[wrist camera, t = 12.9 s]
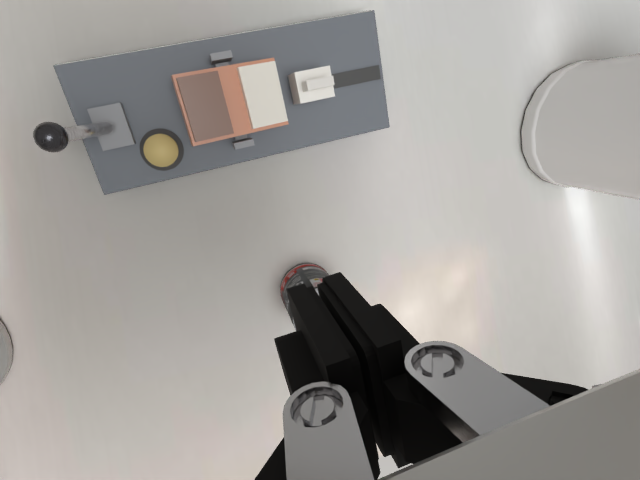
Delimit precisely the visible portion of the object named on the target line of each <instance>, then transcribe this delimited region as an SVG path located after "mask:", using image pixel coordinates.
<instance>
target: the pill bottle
mask: <svg viewBox="0 0 640 480" xmlns="http://www.w3.org/2000/svg"><path fill="white" fill-rule="evenodd" d="M326 276H329V274H328V273H327V272H326V271H325V270H324V269H323V268H322V267H320V266H318V265H315V264H302V265H299V266H296V267H294V268H293V269H291V270H290V271H289V272H288V273H287V274H286V276H285V277H284V279H283V281H282V284H281V297H282V300H283V302H284V305H285V307H286V309H287V311H288V314H289V316H290V318H291V321H292V323H293V325H294V328H295V329H296V327H295V323H294V319H293V316H292V312H291V308H290V304H289V300H288V296H287V291H286V289H287V288H290V287H294V286H297V285H300V284H303V283H304V284H305V285H306V287H310V286H313V287H314V289H315V290H316V292H317V293H318V288H317V284H320V283H322V278H323V277H326ZM318 295H319V293H318Z"/></svg>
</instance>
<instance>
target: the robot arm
mask: <svg viewBox="0 0 640 480" xmlns="http://www.w3.org/2000/svg"><path fill="white" fill-rule="evenodd" d="M317 288H318V293H319V295H318V293H317V292H316V290H315V289H314V287H313V286H310V287H306V285H305V284H304V283H303V284H300V285H297V286H294V287H290V288H287V289H286V291H287V296H288V300H289V304H290V308H291V312H292V316H293V319H294V323H295V327H296V332H293V333H290V334H287V335H284V336H281V337H278V338H275V339H274V340H275V344H276V347H277V351H278V354H279V358H280V362H281V365H282V369H283V372H284V376H285V379H286V382H287V385H288V389H289V392H290V395H291V396H290V397H289V398H288V400H287V402H286V403H285V405H284V410H283V426H284V438H283V439H282V441H281V442H280V444H279V445H278V447H277V448H276V449H275V451H274V452H273V454H272V455H271V457H270V458H269V459H268V461H267V462H266V464H265V465H264V467H263V468H262V470H261V471H260V472H259V474H258V475H257V477H256V478H255V480H377V479H378V477H379V474H380V469H379V464H378V459H379V458H378V452H377V447H376V444H377V445H378V447H379V449H380V451H381V453H382V454H383V456H384V457H386V456H388V455H391V456H392V458H393V459H394V461H395V463H396V465H397V466H398V468H400V467H402V466H405V465H407V464H410V463H413V465H410V466H408V467H406V468H403V469H401V470H399V471H396V472H394V473H392V474H390V475H387V476H385V477H382V478H380V479H378V480H640V369H638V370H636V371H633V372H631V373H629V374H626V375H624V376H621V377H619V378H616V379H614V380H611V381H609V382H606V383H604V384H600V385H594V386H592V389H590V390H588V389H586V388H583V387H579V386H575V385H571V384H566V383H559V382H553V381H547V380H541V379H535V378H529V377H523V376H517V375H511V374H504V373H500V372H498V371H497V370H495V369H494V368H492V367H491V366H489V365H488V364H486V363H485V362H483V361H482V360H480V359H479V358H477V357H476V356H474V355H472V354H471V353H469V352H468V351H466V350H465V349H463V348H462V347H460V346H458V345H456V344H453V343H449V342H445V341H431V342H425V343H422V344H419V343H418V341H417V340H416V339H415V338H414V337H413V336H412V335H411V334H410V333H409V332H408V331H407V330H406V329H405V328H404V327H403V326H402V325H401V324H400V323H399V322H398V321H397V320H396V319H395V318H394V317H393V316H392V315H391V314H390V312H389V311H388V310H387V309H386V308H385V307H384V306H383V305H381V304H377V305H374V306H370V305H369V304H368V302H367V301H366V300H365V299H364V298H363V297H362V296H361V295H360V294H359V292H358V291H357V290H356V289H355V288H354V287H353V286H352V285H351V283H350V282H349V281H348V280H347V279H346V278H345V277H344V276H343V275H342V273H340V272H339V273H336V274H333V275H329V276H326V277H323V278H322V283H320V284H317ZM12 352H13V349H12V344H11V339H10V336H9V334H8V332H7V330H6V328H5V326H4V325H3V323H2V322H1V321H0V384H1V383H2V382H3V380H4V379H5V377H6V375H7V374H8V372H9V369H10V366H11V363H12Z"/></svg>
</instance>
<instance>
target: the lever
mask: <svg viewBox="0 0 640 480" xmlns="http://www.w3.org/2000/svg"><path fill="white" fill-rule="evenodd" d="M112 131H113V126H112V124H111V123H109V122H99V123H92V124H85V125H78V126H72V127H65V128H63V127H62V126H60V125H58V124H56V123H53V122H44V123H41V124H39V125H38V126H37V127H36V128H35V130H34V133H33V137H34V141H35V143H36V144H37V145H38V146H39V147H40V148H41V149H43V150H45V151H48V152H59V151H61V150H63V149H64V148H65V147H66V146H67V144H68V142H70V141H75V140H80V139H85V138H90V137H96V136H101V135H106V134H110V133H111V132H112Z"/></svg>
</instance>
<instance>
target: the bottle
mask: <svg viewBox="0 0 640 480" xmlns="http://www.w3.org/2000/svg"><path fill="white" fill-rule="evenodd" d="M521 135H522V150H523V154H524V156H525V158H526V161H527V163H528V165H529V168H530V169H531V170H532V171H534V172H535V173H536V174H537V175H538V176H539V177H540V178H541V179H542V180H545V181H547V182H550V183H553V184H556V185H560V186H563V187H575V188H580V189H585V190H590V191H595V192H600V193H606V194H611V195H616V196H621V197H627V198H632V199H637V200H640V54H635V55H628V56H621V57H615V58H608V59H602V60H587V61H579V62H576V63H573V64H570V65H567V66H566V67H564V68H562V69H560V70H558V71H556V72H554V73H552V74H551V75H550V76H549V77H548V78H547V79H546V80H545V81H544V82H543V83H542V84H541V85H540V87H539V88H538V89H537V90H536V91H535V93H534V95H533V97H532V99H531V101H530V103H529V105H528V107H527V109H526V111H525V116H524V121H523V126H522V130H521Z"/></svg>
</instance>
